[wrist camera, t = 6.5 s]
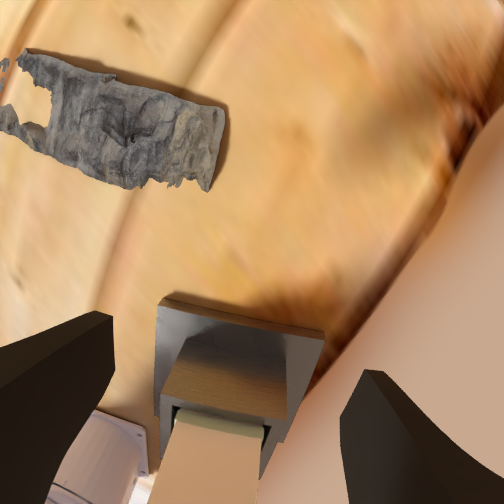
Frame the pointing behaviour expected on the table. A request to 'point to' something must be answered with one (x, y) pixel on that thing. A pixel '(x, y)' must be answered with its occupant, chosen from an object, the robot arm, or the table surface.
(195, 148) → the driftwood
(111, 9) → the table surface
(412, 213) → the table surface
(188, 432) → the post
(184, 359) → the sleeve stand
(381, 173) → the table surface
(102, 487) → the robot arm
